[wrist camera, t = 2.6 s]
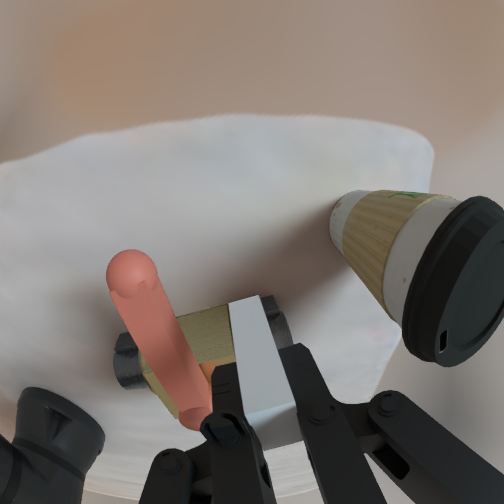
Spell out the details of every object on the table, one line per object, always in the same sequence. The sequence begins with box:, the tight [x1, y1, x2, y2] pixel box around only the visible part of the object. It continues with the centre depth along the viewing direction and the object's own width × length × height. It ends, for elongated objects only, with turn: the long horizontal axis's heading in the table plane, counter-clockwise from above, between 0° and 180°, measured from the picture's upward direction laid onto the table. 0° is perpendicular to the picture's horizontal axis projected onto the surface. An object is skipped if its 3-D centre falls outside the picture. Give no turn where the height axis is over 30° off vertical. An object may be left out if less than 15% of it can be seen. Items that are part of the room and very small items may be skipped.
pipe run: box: [113, 295, 293, 419], centre depth 22 cm, size 16×6×8 cm, turn 104°
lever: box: [106, 250, 213, 431], centre depth 15 cm, size 14×3×3 cm, turn 14°
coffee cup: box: [329, 190, 504, 367], centre depth 17 cm, size 10×10×15 cm
